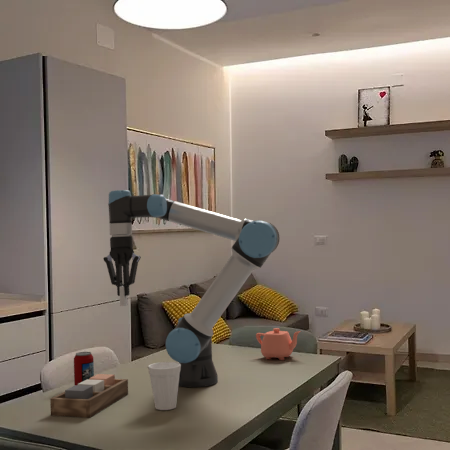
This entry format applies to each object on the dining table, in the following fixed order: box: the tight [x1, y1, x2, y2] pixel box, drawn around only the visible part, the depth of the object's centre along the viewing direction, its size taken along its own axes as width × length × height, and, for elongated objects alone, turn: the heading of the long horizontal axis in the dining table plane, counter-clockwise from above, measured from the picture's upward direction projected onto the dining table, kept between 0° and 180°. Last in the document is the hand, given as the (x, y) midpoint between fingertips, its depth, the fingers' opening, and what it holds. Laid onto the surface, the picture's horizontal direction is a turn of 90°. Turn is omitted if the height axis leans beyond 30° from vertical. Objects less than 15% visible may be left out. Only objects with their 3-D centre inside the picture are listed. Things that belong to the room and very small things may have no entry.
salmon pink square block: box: [89, 373, 116, 386], centre depth 201 cm, size 6×6×4 cm
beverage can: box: [73, 351, 95, 386], centre depth 215 cm, size 7×7×12 cm
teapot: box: [255, 327, 302, 361], centre depth 255 cm, size 13×20×12 cm, turn 65°
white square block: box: [78, 379, 104, 392], centre depth 193 cm, size 6×6×4 cm
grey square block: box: [64, 384, 93, 399], centre depth 186 cm, size 6×6×4 cm
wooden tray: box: [49, 378, 129, 419], centre depth 193 cm, size 13×26×5 cm, turn 164°
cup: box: [147, 361, 181, 411], centre depth 187 cm, size 10×10×13 cm
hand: (123, 305), depth 208 cm, fingers closed
